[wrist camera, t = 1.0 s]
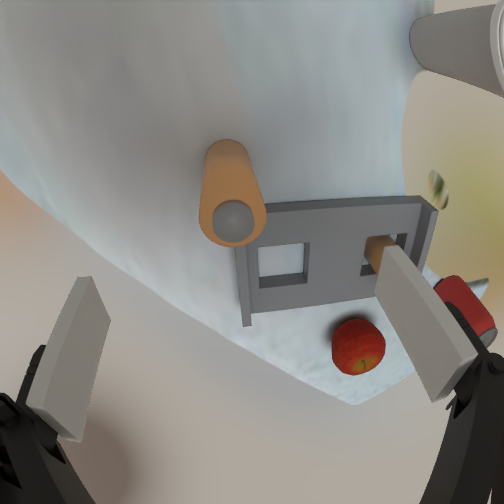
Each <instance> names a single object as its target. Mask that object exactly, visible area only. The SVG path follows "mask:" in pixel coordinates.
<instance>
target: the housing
mask: <svg viewBox="0 0 504 504" xmlns="http://www.w3.org/2000/svg"><path fill="white" fill-rule="evenodd" d="M264 205H265V208H266V213H267V219H266V224H265V227H264V229H263V230H262V232H261V233H260V235H259V236H258V237H257V238H255V239H254V240H253V241H251V242H249V243H248V244H245V245H242V246H237V247H235V255H236V266H237V276H238V286H239V295H240V305H241V314H242V323H243V327H246V326H252V324H251V314H252V313H261V312H269V311H278V310H286V309H294V308H302V307H309V306H316V305H323V304H330V303H337V302H344V301H350V300H357V299H363V298H369V297H375V296H376V295H375V294H374V291H375V287H376V283H377V279H378V275H379V270H380V266H381V261H382V257H383V252H384V247H387V246H396V245H399V246H400V248H401V249H402V250H403V251H404V252H405V254H406V255H407V256H408V257H409V259H410V260H411V261H412V262H413V263H414V265H415V266H416V267H417V268H418V270H419V271H420V272H421V274H422V270H423V267H424V264H425V261H426V257H427V254H428V250H429V247H430V243H431V240H432V235H433V232H434V228H435V224H436V220H437V216H438V212H439V211H438V210H437V209H436V208H435V207H433V206H432V205H431V204H430V203H429V202H427V201H426V200H425V199H424V198H422V197H421V196H390V197H367V198H347V199H330V200H315V201H300V202H287V203H275V204H264ZM390 234H398V236H397V240H396V243H395V242H394V240H393V239H392V238H391V237H390V236H389V235H390ZM367 237H368V238H367ZM366 238H367V239H366ZM297 243H305V252H304V270H303V273H296V274H287V275H278V276H269V277H259V272H258V252H257V247H266V246H276V245H286V244H297ZM363 256H365V258H366V259H367V261H368V262H369V264H370V265H362V261H363Z"/></svg>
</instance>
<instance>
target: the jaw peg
mask: <svg viewBox="0 0 504 504" xmlns="http://www.w3.org/2000/svg"><path fill="white" fill-rule="evenodd" d="M266 219H267V213H266V208H265V205H264V202H263V199H262V196H261V193H260V190H259V187H258V184H257V181H256V178H255V175H254V172H253V169H252V166H251V163H250V160H249V157H248V154H247V152H246V150H245V148H244V147H243V146H242V145H241V144H240V143H239V142H237V141H234V140H229V139H225V140H220V141H218V142H216V143H214V144H213V145H212V146H211V147H210V148H209V149H208V151H207V154H206V158H205V166H204V174H203V183H202V192H201V201H200V210H199V223H200V227H201V229H202V231H203V233H204V234H205V235H206V236H207V237H208V238H209V239H210V240H211V241H213V242H214V243H216V244H219V245H222V246H226V247H237V246H242V245H245V244H248V243H249V242H251V241H253V240H254V239H255V238H257V237H258V236H259V235H260V233H261V232H262V230H263V229H264V227H265V224H266Z"/></svg>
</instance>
